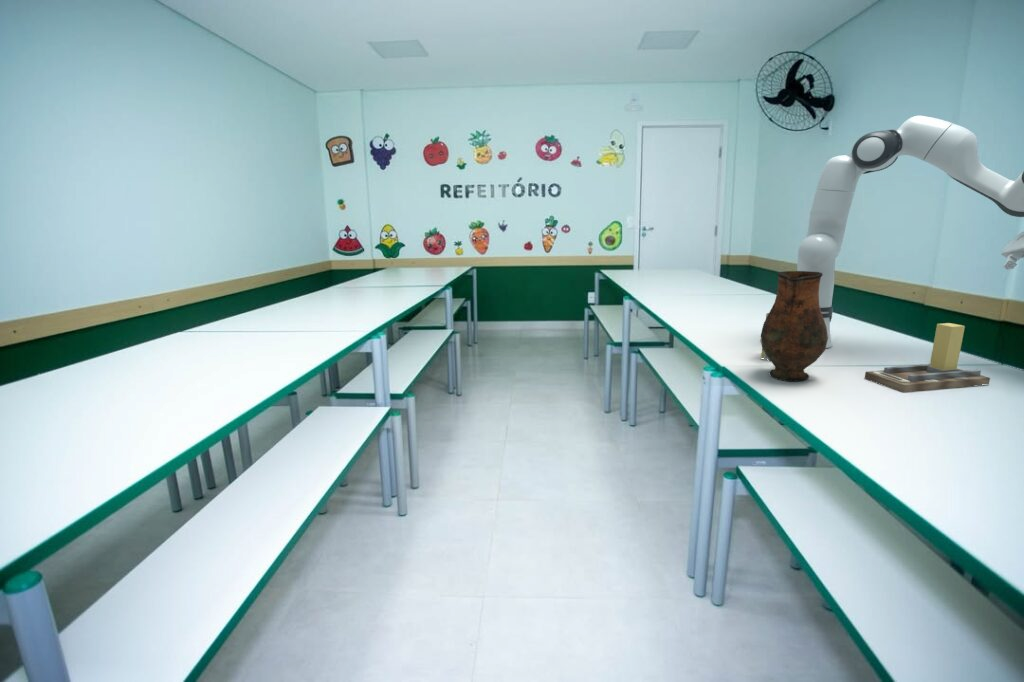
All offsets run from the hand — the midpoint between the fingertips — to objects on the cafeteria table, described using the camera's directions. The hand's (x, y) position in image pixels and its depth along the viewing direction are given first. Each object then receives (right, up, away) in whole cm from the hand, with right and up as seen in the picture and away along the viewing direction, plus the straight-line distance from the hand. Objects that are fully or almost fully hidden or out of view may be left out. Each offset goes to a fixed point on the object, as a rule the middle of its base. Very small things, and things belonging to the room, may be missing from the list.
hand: (1021, 265), depth 131 cm
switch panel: (-21, -31, +5) cm, 38 cm away
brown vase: (-53, -30, +15) cm, 63 cm away
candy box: (-49, -26, +32) cm, 64 cm away
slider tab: (-16, -29, +5) cm, 34 cm away
